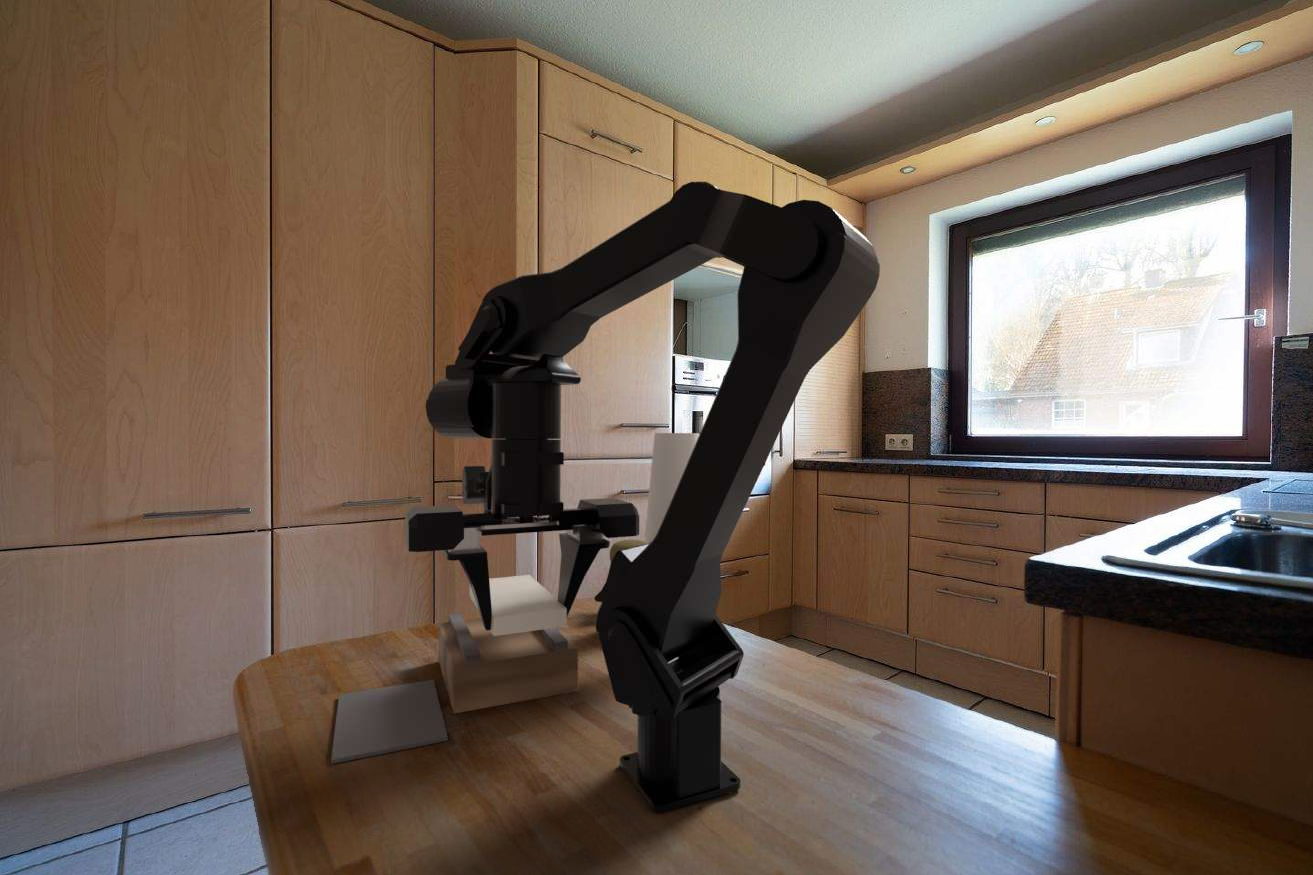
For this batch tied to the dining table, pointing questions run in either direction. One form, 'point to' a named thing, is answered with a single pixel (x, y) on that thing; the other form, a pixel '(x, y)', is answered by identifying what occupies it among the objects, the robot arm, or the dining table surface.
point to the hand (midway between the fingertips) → (525, 623)
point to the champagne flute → (666, 476)
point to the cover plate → (522, 606)
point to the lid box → (503, 664)
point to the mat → (387, 721)
